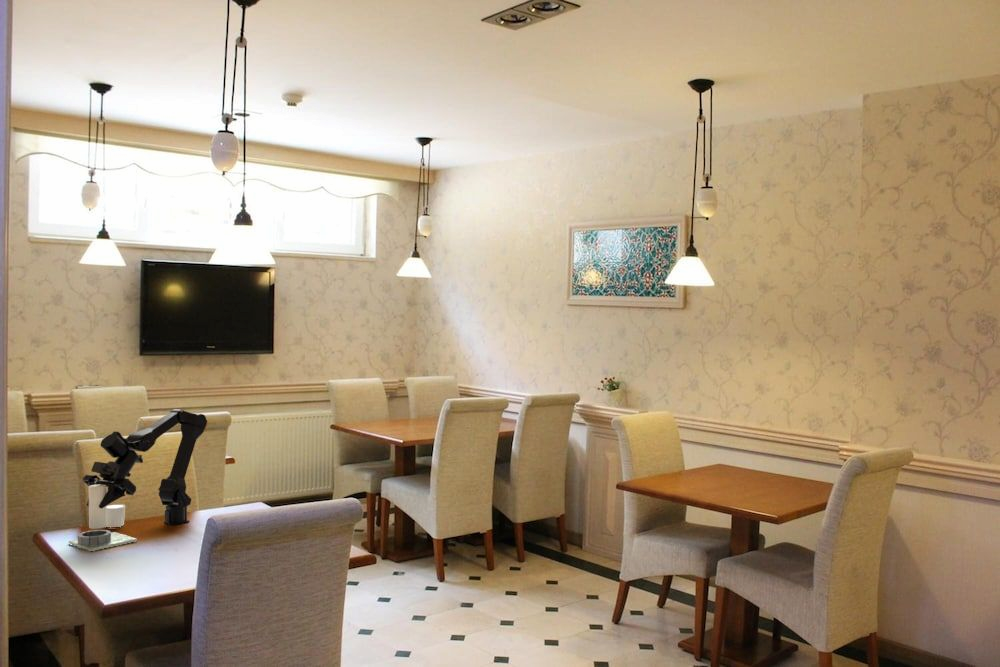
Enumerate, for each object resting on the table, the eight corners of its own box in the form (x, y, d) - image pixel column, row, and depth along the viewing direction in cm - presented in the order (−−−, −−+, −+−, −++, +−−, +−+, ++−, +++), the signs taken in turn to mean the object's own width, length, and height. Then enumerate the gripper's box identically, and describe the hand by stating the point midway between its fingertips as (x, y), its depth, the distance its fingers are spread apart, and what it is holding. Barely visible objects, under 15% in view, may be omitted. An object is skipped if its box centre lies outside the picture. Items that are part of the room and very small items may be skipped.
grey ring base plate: (114, 534, 282) (114, 524, 282) (136, 541, 274) (136, 530, 274) (68, 544, 271) (68, 533, 270) (90, 551, 262) (90, 540, 262)
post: (105, 524, 273) (105, 483, 273) (107, 527, 269) (106, 486, 268) (88, 526, 271) (87, 485, 270) (89, 529, 266) (89, 488, 266)
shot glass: (119, 528, 290) (119, 508, 290) (100, 528, 291) (99, 508, 290) (129, 524, 297) (129, 504, 297) (109, 523, 297) (109, 503, 297)
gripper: (86, 449, 277) (57, 489, 267) (128, 453, 269) (99, 495, 259) (107, 469, 284) (79, 509, 274) (148, 474, 276) (121, 515, 266)
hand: (93, 506), depth 268 cm, fingers closed on post, 5 cm apart
